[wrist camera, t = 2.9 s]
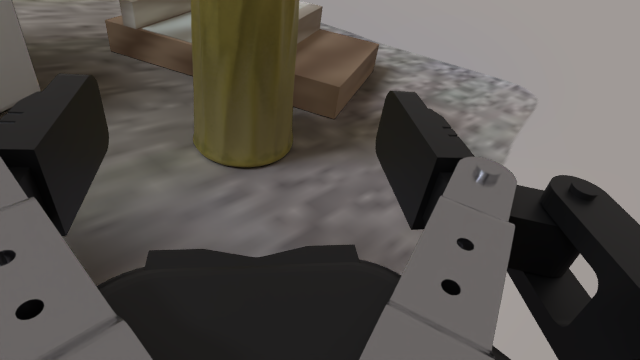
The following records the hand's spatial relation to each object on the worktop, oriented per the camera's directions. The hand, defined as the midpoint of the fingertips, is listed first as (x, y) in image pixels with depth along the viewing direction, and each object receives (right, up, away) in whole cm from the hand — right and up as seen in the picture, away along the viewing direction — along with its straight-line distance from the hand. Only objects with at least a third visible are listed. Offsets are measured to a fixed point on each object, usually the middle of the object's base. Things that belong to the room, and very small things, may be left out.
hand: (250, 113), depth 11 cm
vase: (-3, 0, +14) cm, 14 cm away
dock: (-4, +9, +24) cm, 26 cm away
